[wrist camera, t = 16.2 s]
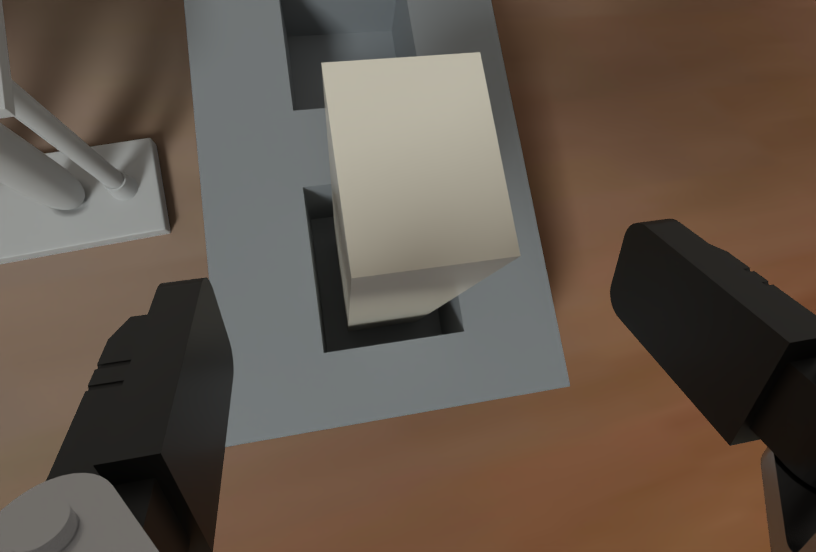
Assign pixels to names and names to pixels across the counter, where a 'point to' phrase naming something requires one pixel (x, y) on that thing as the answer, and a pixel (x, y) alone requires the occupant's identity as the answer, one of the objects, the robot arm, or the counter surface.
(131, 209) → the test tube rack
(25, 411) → the counter surface
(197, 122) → the grey two-slot holder
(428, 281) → the cream rectangular block
